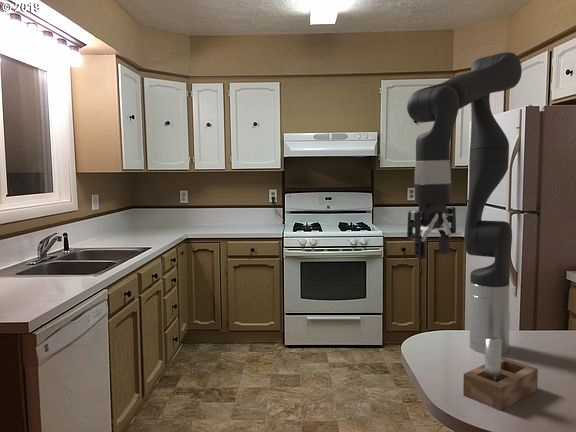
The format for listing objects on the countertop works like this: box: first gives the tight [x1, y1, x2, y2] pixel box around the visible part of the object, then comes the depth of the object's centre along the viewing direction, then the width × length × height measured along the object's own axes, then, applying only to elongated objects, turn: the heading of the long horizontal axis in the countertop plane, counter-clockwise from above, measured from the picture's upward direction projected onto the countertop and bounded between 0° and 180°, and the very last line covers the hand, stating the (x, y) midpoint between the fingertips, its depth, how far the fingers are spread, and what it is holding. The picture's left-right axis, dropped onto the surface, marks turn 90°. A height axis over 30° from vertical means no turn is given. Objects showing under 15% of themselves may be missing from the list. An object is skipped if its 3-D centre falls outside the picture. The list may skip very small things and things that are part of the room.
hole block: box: [462, 356, 539, 411], centre depth 94 cm, size 14×8×4 cm, turn 126°
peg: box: [484, 336, 502, 382], centre depth 92 cm, size 3×3×12 cm
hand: (432, 256), depth 100 cm, fingers open, 8 cm apart
